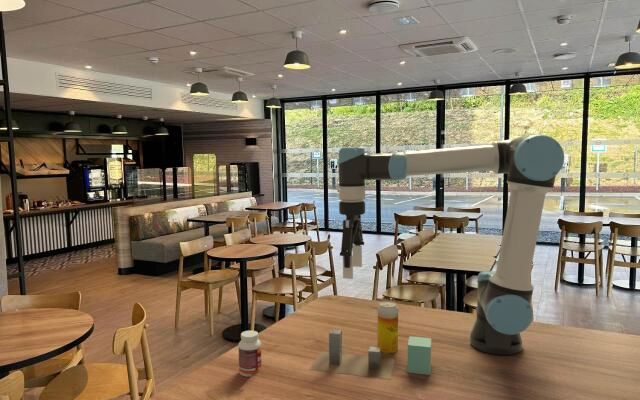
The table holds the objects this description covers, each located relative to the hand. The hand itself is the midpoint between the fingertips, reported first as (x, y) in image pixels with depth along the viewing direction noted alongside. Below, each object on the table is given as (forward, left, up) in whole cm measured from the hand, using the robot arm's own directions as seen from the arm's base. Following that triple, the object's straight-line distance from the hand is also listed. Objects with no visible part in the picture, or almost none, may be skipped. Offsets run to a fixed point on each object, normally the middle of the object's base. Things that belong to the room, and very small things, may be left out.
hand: (352, 272), depth 138 cm
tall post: (+3, +10, -24) cm, 26 cm away
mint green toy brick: (-20, +8, -25) cm, 33 cm away
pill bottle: (+25, +19, -25) cm, 40 cm away
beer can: (-10, -3, -25) cm, 27 cm away
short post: (-8, +10, -24) cm, 27 cm away
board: (-2, +10, -25) cm, 27 cm away
